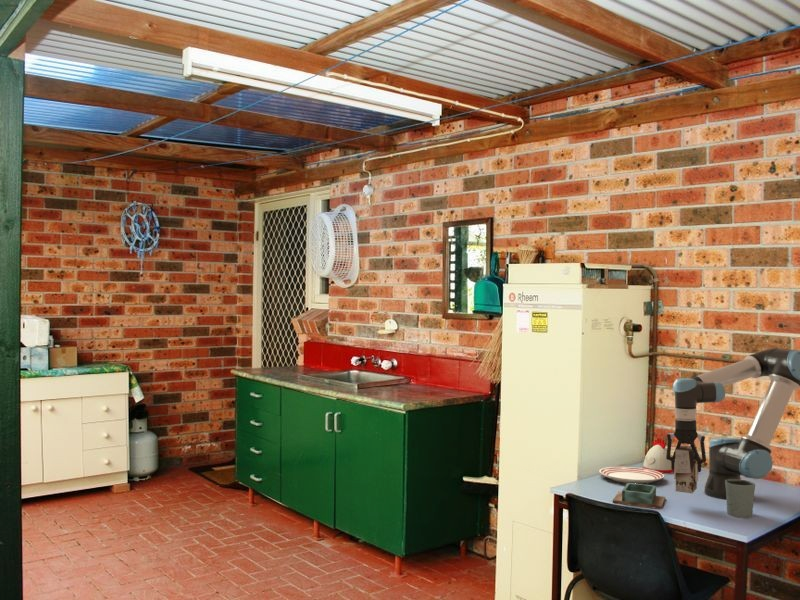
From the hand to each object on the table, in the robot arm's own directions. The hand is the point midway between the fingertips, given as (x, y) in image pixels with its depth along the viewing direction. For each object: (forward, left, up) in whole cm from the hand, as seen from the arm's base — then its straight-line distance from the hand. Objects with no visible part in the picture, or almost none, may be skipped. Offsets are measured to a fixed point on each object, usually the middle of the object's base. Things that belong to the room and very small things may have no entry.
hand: (686, 479), depth 282 cm
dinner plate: (+25, -38, -11) cm, 47 cm away
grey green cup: (-19, 0, -11) cm, 22 cm away
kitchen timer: (+16, -62, -11) cm, 65 cm away
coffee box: (0, 0, -4) cm, 4 cm away
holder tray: (+17, -2, -11) cm, 20 cm away
